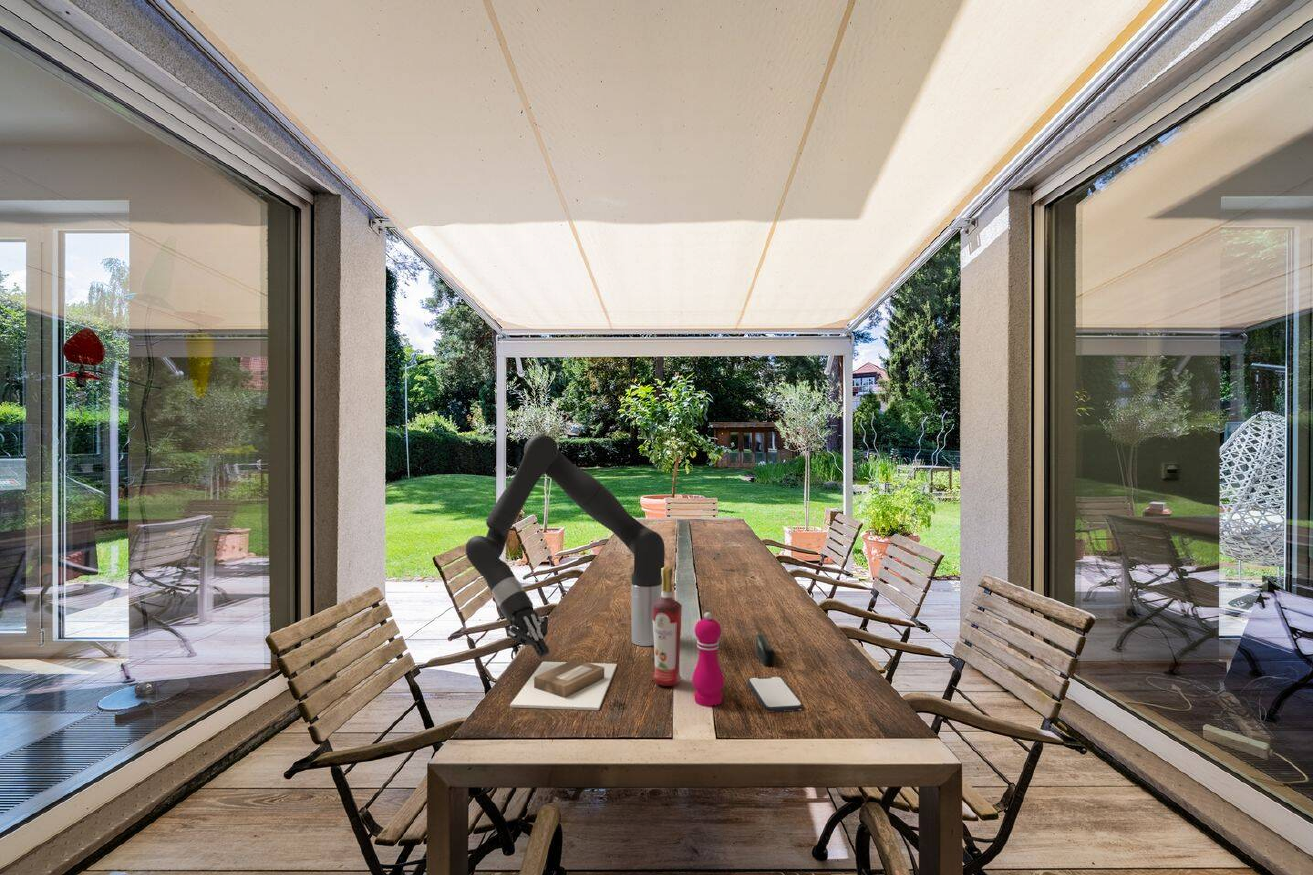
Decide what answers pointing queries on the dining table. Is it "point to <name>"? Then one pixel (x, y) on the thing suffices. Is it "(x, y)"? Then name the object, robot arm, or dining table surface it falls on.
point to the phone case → (774, 694)
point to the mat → (578, 701)
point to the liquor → (666, 633)
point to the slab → (569, 678)
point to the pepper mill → (708, 663)
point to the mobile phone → (764, 651)
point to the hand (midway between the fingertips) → (545, 654)
